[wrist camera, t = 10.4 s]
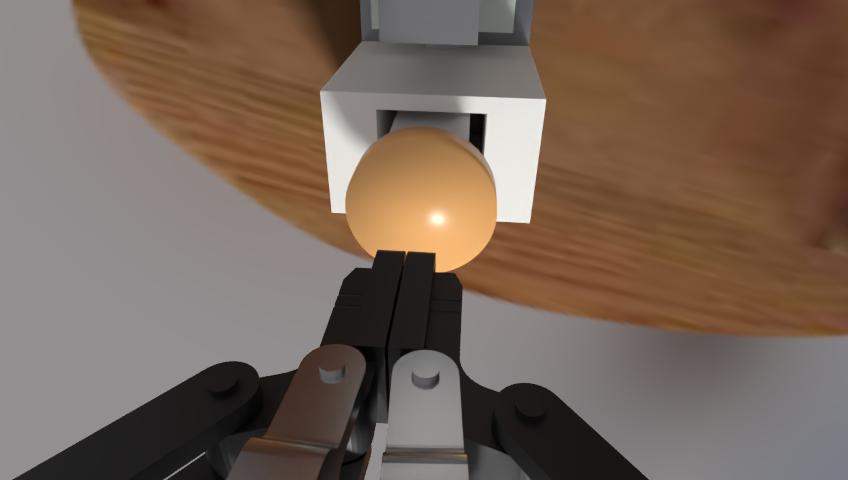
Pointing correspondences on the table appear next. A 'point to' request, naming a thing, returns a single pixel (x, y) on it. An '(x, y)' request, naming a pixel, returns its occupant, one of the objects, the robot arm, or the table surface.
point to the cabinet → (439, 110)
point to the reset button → (424, 190)
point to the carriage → (440, 20)
